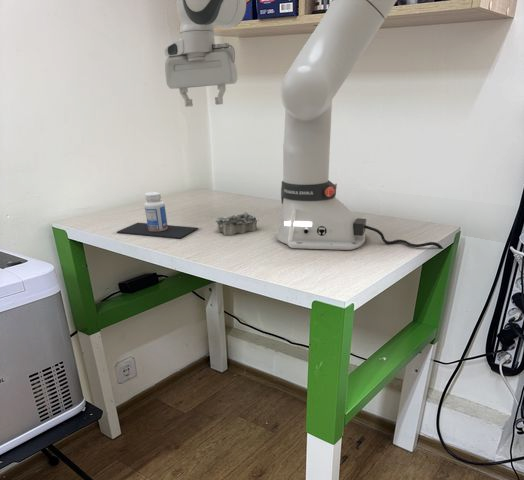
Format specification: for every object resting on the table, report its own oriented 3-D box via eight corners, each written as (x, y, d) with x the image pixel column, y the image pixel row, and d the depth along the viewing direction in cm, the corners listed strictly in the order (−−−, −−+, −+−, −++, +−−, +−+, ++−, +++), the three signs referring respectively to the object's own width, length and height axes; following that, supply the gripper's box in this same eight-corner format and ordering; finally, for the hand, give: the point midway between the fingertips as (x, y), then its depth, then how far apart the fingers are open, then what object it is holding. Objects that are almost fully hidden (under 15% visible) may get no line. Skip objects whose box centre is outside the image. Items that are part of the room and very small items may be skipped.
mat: (198, 229, 134) (198, 227, 134) (180, 238, 126) (180, 237, 126) (137, 223, 140) (137, 222, 140) (117, 232, 132) (117, 231, 132)
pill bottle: (163, 225, 136) (158, 190, 131) (170, 230, 132) (166, 193, 127) (145, 229, 134) (139, 193, 129) (152, 233, 130) (147, 196, 125)
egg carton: (226, 236, 127) (225, 221, 125) (214, 230, 132) (212, 215, 130) (260, 230, 131) (260, 215, 129) (247, 224, 137) (246, 209, 135)
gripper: (239, 43, 124) (243, 102, 130) (171, 51, 131) (178, 107, 138) (228, 40, 119) (233, 103, 125) (158, 49, 126) (166, 107, 132)
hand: (204, 105), depth 131 cm, fingers open, 8 cm apart
